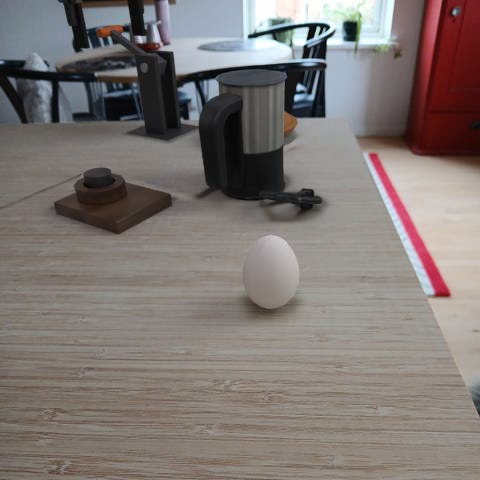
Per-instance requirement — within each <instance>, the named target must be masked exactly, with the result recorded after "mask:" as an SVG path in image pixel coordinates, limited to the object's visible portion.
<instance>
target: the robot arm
mask: <svg viewBox="0 0 480 480" xmlns="http://www.w3.org/2000/svg"><path fill="white" fill-rule="evenodd" d="M126 1H127V6H128V13H129V21H130V28H131V34H132V36H133V37H146V36H147V33H146V31H147V30H146V24H145V18H144V14H145V5H144V0H126ZM57 2H58V3H59V4H62V5H63V9H64V13H65V18H66V22H67V25H68V26H69V27H71V32H72V35H73V40H74V45H75V48H76V49H86V50H87V49H91V45H90V41H89V36H88V29H87V25H86V20H85V14H84V10H83V5H82V2H77V0H57Z"/></svg>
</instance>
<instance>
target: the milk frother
mask: <svg viewBox="0 0 480 480" xmlns="http://www.w3.org/2000/svg"><path fill="white" fill-rule="evenodd" d="M287 78H288V75H287V73H285V72H283V71H279V70H270V69H259V68H258V69H256V68H255V69H254V68H253V69H252V68H251V69H239V70H233V71H231V70H230V71H228V72H224V73H220V74H218V75H216V76H215V81H216V82H217V84H218V95H216V96H213V97H211V98H210V99H208V101H207V102H206V103H205V104H204V105H203V107H202V108H201V111H200V114H199V118H198V126H199V128H198V134H199V143H200V152H201V159H202V166H203V173H204V180H205V184H206V186H207V187H208V188H210V189H215V190H218V191H222V192H223V193H224V194H226V195H227V196H230V197H233V198H237V199H241V200H260V199H264V200H269V201H276V202H282V203H283V202H285V203H290V204H292V205H295V206H297V207H298V208H300V209H303V210H312V209H313V207H314V205H321V204H323V197H321V196H319V195H316V192H315V190H314V189H313V188H307V187H305V188H304V187H302V188H301V189H300V190H298V191H297V192H287V191H284V190H285V188H286V182H285V172H284V170H285V169H284V142H283V140H284V111H285V83H286V82H285V81H286V80H287Z"/></svg>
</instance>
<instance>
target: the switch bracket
mask: <svg viewBox="0 0 480 480" xmlns="http://www.w3.org/2000/svg"><path fill="white" fill-rule="evenodd" d="M152 53H156V54H158V55H159V56H160V57H162V58H163V59H165V60H166V61H167V64H166V69H165V74H164V75H161V76H160V71H159V63H158V56H156V55H145V54H136V55H134V60H135V67H136V74H137V81H138V88H139V94H140V101H141V109H142V115H143V122H144V125H142V126H140V127H137V128H135V129H132V130H129V131H127V134H131V135H136V136H142V137H146V138H151V139H157V140H161V141H167V142H169V141H171V140H173V139H176V138H178V137H180V136H183V135H185V134H187V133H190V132H192V131H194V130H197V129H199V125H195V124H193V125H192V124H187V123H182V121H181V119H182V118H181V110H180V101H179V100H180V99H179V91H178V82H177V73H176V72H177V71H176V63H175V62H176V61H175V54H174V51H170V50H158V49H153V50H150V54H152Z"/></svg>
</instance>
